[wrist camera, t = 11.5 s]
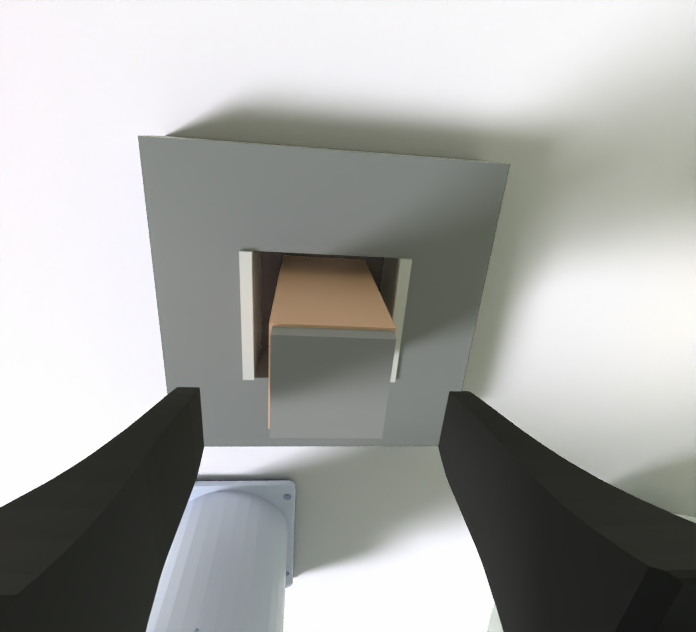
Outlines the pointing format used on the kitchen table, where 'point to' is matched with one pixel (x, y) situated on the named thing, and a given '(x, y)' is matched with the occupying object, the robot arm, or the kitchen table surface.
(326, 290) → the plug
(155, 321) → the kitchen table surface
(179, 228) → the socket block
